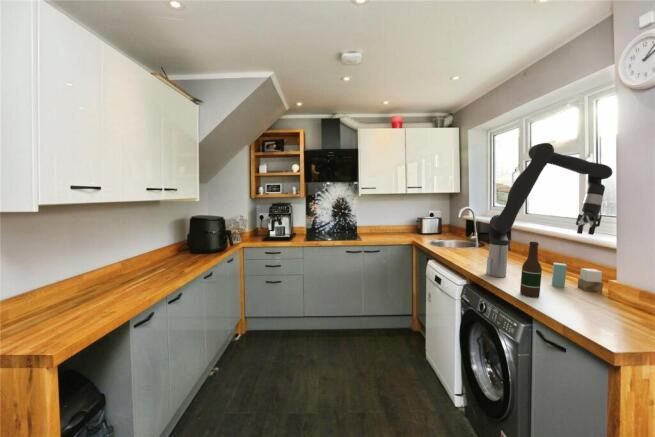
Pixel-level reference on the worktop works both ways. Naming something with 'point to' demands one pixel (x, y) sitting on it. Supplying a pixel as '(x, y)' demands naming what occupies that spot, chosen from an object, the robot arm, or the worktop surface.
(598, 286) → the walnut block
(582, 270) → the cream block
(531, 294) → the beer bottle
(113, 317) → the worktop surface
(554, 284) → the teal block
